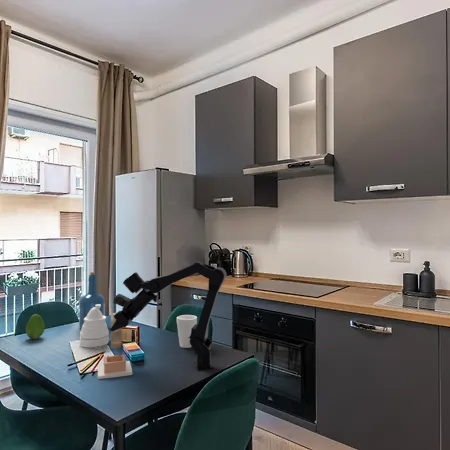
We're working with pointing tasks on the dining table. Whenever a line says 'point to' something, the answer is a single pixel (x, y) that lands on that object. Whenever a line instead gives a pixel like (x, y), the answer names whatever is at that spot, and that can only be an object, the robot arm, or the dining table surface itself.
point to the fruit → (35, 327)
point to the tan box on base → (114, 367)
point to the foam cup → (185, 329)
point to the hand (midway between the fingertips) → (112, 329)
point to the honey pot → (94, 329)
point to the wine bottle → (90, 300)
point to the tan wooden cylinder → (115, 334)
